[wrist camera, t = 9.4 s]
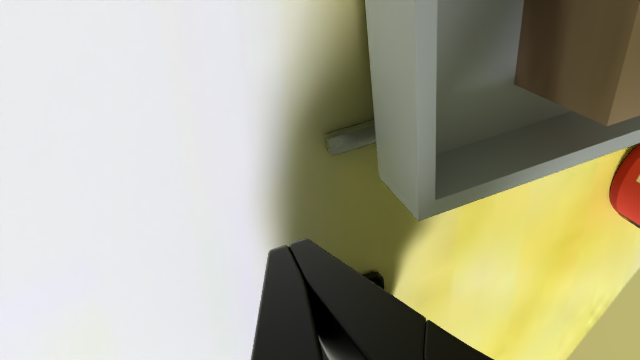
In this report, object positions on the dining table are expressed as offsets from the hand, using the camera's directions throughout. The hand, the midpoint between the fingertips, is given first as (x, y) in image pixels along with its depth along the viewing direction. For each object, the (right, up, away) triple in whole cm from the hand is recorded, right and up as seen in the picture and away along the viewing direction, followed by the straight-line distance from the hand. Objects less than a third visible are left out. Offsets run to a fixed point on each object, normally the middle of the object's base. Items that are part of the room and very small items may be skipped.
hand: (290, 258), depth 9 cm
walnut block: (+12, +9, +10) cm, 18 cm away
